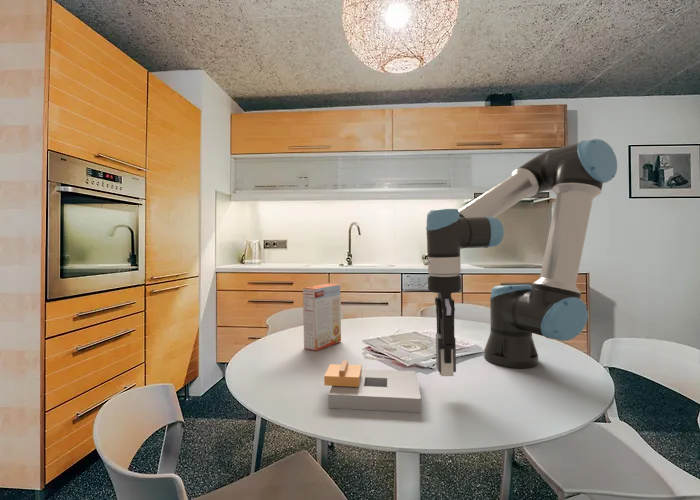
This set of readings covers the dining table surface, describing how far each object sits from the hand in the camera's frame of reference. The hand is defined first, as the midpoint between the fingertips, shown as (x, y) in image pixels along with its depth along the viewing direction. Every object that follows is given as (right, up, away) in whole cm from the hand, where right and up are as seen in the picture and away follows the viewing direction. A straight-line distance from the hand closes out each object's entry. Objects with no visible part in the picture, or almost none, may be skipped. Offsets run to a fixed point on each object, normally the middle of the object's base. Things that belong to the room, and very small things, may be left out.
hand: (445, 371), depth 87 cm
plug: (0, 0, 0) cm, 0 cm away
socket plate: (-17, -5, 0) cm, 18 cm away
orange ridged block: (-24, -2, 0) cm, 25 cm away
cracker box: (-32, -4, +40) cm, 51 cm away
